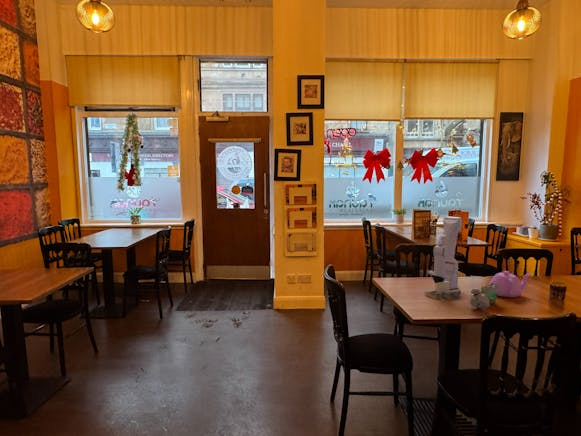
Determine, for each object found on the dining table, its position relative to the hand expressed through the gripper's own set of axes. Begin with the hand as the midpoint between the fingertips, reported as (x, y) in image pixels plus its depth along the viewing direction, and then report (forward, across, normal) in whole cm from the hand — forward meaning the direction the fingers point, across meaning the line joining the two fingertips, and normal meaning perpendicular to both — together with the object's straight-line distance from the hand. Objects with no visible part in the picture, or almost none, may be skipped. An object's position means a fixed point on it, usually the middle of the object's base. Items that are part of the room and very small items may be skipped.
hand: (438, 288), depth 224 cm
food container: (+3, +25, +12) cm, 28 cm away
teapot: (+3, +19, +37) cm, 42 cm away
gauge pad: (+2, +3, -2) cm, 4 cm away
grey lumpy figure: (+3, +29, -3) cm, 30 cm away
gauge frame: (+3, +3, 0) cm, 4 cm away
